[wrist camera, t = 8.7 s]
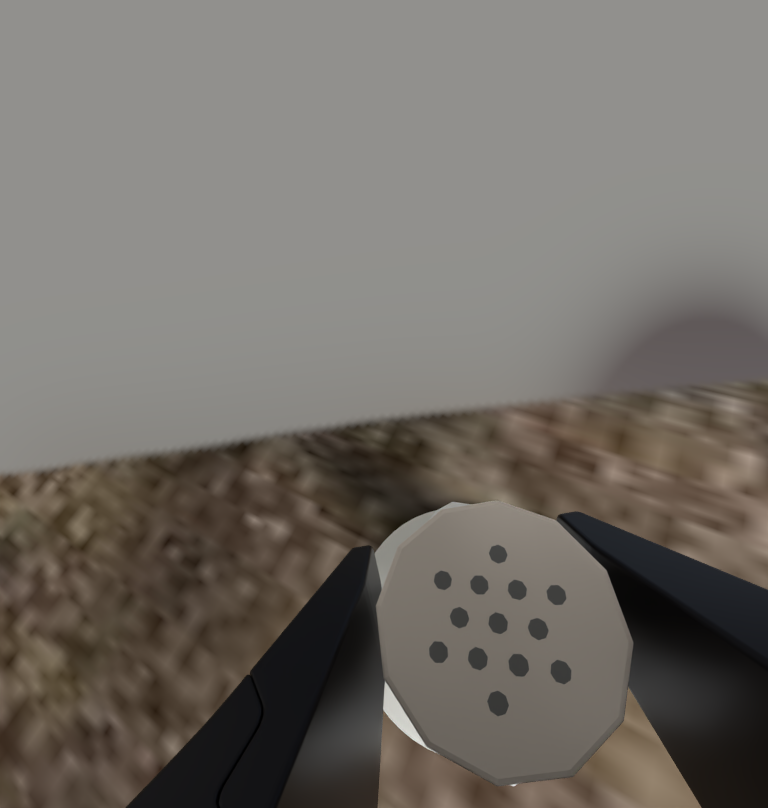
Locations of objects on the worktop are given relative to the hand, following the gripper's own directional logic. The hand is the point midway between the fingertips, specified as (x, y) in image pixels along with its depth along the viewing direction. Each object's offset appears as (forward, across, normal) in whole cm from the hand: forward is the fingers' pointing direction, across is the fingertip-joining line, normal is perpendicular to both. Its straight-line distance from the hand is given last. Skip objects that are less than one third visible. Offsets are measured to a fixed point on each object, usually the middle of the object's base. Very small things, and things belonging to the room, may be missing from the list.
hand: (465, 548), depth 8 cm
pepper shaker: (+4, 0, +6) cm, 7 cm away
